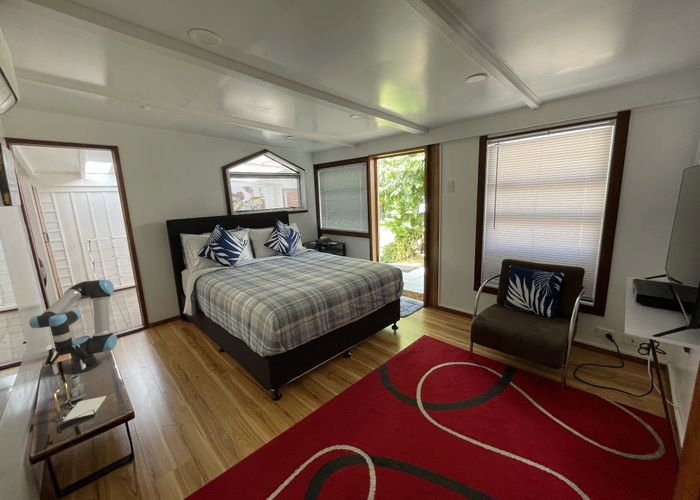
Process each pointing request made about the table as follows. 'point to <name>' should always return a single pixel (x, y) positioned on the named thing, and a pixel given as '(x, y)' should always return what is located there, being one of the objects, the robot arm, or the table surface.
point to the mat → (85, 408)
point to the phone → (74, 422)
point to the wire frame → (70, 405)
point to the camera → (76, 389)
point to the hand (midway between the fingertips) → (70, 370)
